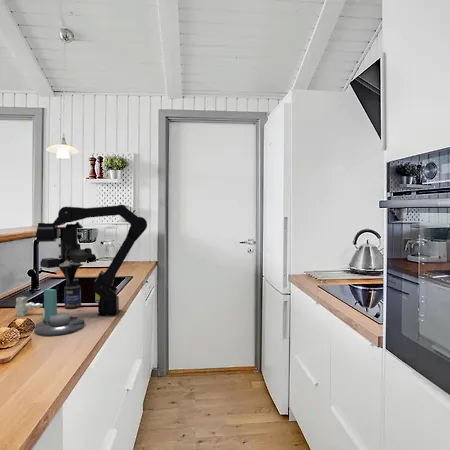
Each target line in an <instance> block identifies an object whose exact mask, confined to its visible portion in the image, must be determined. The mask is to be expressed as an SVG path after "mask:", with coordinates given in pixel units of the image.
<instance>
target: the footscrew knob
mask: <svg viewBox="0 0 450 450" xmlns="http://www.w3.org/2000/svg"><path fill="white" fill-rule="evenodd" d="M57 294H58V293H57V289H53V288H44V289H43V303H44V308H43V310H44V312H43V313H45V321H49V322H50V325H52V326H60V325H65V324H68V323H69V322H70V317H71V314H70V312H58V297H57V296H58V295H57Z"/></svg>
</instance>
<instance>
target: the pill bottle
mask: <svg viewBox="0 0 450 450" xmlns="http://www.w3.org/2000/svg"><path fill="white" fill-rule="evenodd" d="M79 282H80V280H79V278H74V280H73V283H72V284H68V282H67V280H66V279H65V284H66V285H65V286H64V287H63V288H64V289H63V292H64V293H63V294H64V295H63V296H64V297H63V299H64V308H65V309H67V310H68V309H69V310H70V309H71V310H72V309H77V308H81V306H82V290H81V289H82V288H81V287H82V286H81V285H80V284H79Z"/></svg>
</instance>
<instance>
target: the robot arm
mask: <svg viewBox="0 0 450 450" xmlns="http://www.w3.org/2000/svg"><path fill="white" fill-rule="evenodd" d="M110 216H120V217H121V218H122V219H124V221H126V222H127V223H129V224H130V226H129V228H128V229H129V230H128V232H127V234H126V237H125V239H124V241H122V244H121V245H120V247H119V248H118V251H117V252H116V254H115V256H114V257H113V259H112V260H111V262H110V264H109V266H108V267H107V268H106V270H105V271H104V270H102V269H101V270H100V272H99V274H98V275H97V278H96V279H95V280H94V281H93V284H94V285H93V291H94V292H96V293H97V294H98V295H99V296H100V298H99V302H98V303H97V312H98V314H97V316H98V317H108V316H109V317H115V316H117V315H118V314H119V313H120V312H121V309H120V302H119V301H120V299H119V295H117V293H118V290H119V289H118V288H117V287H116V286H115V285H114V282H115V278H116V275H117V273H118V271H119V270H120V268H121V266H122V264H123V263H124V261H125V259H126V258H127V256H128V254H129V253H130V251H131V249H132V248H133V246H134V244H135V242H136V241H137V240H138V239H139V237H141V236H142V235H143V233H144V232H145V231H146V230H147V227H148V221H147V220H146V218H145V217H142V216H138V215H137V214H136V213H134V212H132V210H131V209H129V208H128V207H127V206H126V205H124V204H118V205H105V206H94V207H93V206H92V207H80V206H79V207H77V206H63V207H60V209H59V211H58V214H57V217H56V219H55V220H54V221H53V222H50V223H49V222H48V223H45V222H38V223H37V228H36V232H35V237H36V241H37V242H38V243H49V242H55V243H56V241H57V239H60V242H59V244H58V248H60V255H59V254H58V258H57V257H45V258H42V259H41V260H40V262H39V263H40V264H39V265H40V268H45V269H53V268H58V269H60V271H61V272H62V274H63V276H64V278H65V281H66V280H67V282H68V284H72V283H73V280H74V279H75V276H76V274H77V271H78V269H79V268H80V267H82V266H83V265H84V264H83V263H87V262H88V263H96V262H97V256H96V254H95V253H93V252H92V248H90V247H85V248H83V249H82V248H81V244H80V243H78V239H79V238H78V230H79V229H83V228H84V226H83V225H82V224H81V223H80V222H79V221H80V220H84V219H88V218H98V217H99V218H100V217H110ZM72 222H75V223H72ZM63 225H65V226H63Z"/></svg>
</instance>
